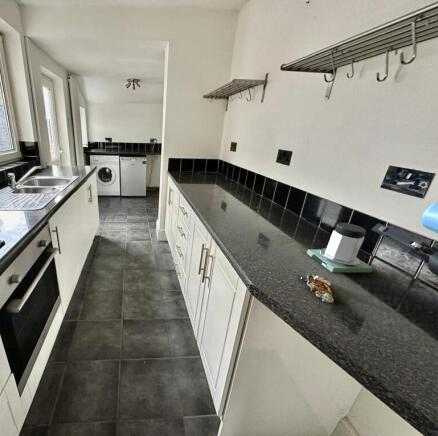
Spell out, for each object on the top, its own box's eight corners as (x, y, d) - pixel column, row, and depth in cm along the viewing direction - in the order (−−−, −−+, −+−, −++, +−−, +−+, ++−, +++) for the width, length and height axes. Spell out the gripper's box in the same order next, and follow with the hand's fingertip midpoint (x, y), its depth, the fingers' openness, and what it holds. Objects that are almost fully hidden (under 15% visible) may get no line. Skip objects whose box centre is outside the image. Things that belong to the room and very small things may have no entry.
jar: (346, 264, 82) (358, 233, 77) (321, 253, 89) (331, 224, 84) (358, 258, 86) (371, 229, 81) (333, 248, 93) (344, 221, 88)
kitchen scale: (340, 254, 95) (343, 249, 94) (370, 273, 83) (373, 267, 82) (305, 254, 94) (307, 249, 93) (330, 273, 82) (333, 268, 81)
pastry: (318, 303, 68) (322, 293, 67) (298, 278, 79) (301, 269, 78) (344, 305, 67) (348, 296, 66) (320, 280, 78) (323, 271, 77)
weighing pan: (340, 249, 94) (341, 248, 93) (368, 266, 83) (369, 264, 82) (312, 249, 93) (313, 247, 93) (336, 266, 82) (337, 264, 81)
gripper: (401, 251, 57) (351, 226, 77) (491, 309, 56) (417, 268, 76) (430, 228, 55) (370, 208, 74) (525, 289, 53) (438, 252, 73)
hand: (393, 238), depth 75 cm, fingers open, 13 cm apart
